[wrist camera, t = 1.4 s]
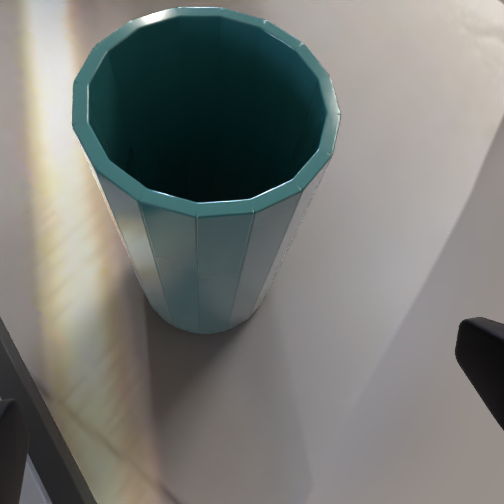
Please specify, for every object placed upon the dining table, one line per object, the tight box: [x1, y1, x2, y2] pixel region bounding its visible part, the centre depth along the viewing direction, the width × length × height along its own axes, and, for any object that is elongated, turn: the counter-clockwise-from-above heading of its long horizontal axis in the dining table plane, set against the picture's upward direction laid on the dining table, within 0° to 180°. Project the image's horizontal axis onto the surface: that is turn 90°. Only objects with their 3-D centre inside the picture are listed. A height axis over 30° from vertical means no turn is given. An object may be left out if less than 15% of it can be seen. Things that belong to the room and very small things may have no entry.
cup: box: [72, 7, 341, 334], centre depth 17 cm, size 7×7×13 cm
